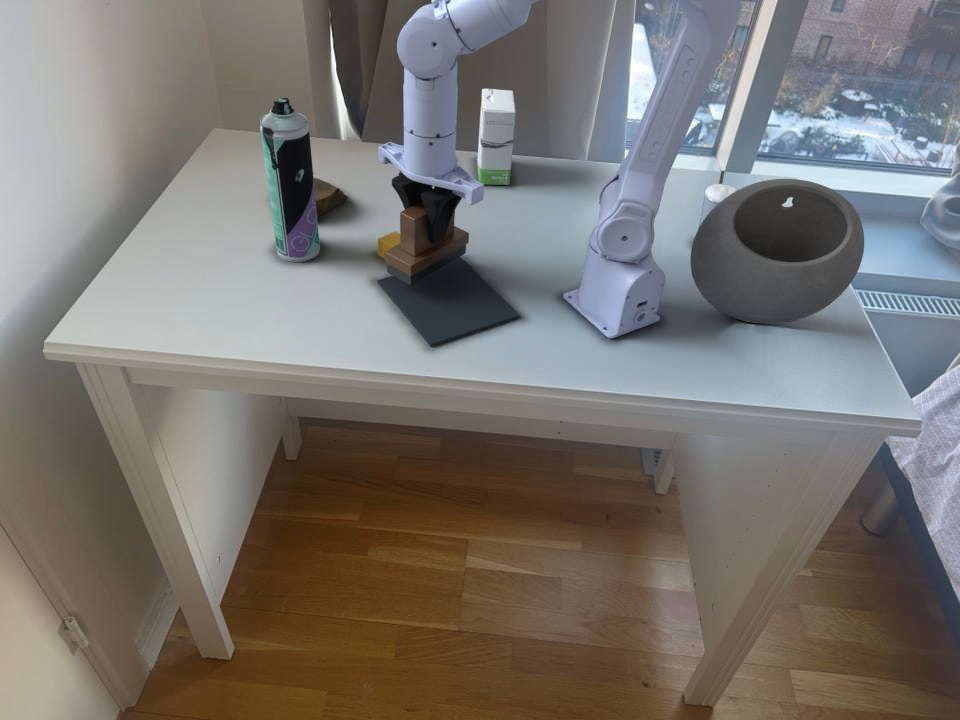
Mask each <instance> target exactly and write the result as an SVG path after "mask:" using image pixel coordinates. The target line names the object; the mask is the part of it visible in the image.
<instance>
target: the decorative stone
mask: <svg viewBox="0 0 960 720" xmlns="http://www.w3.org/2000/svg"><path fill="white" fill-rule="evenodd" d="M313 178H314V189H315V200H316V211H317V218H318V217H319V216H320V215H321V214H323V213H325V212H327V211H328V210H330V209H332V208H334V207H336V206H338V205H340V204H341V203H343V202H345V201H347V200H348V198H349V196H347V194H345V192H344V191H343V190H342V189H340V188H339V187H337V186H335V185H333V184H331V183H329V182H327V181H324V180H322V179H320V178H317V177H313Z"/></svg>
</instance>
